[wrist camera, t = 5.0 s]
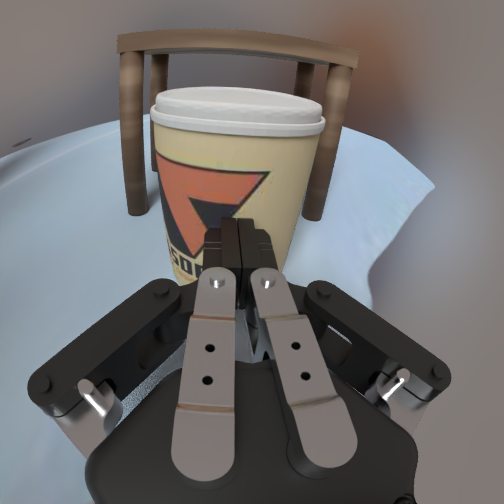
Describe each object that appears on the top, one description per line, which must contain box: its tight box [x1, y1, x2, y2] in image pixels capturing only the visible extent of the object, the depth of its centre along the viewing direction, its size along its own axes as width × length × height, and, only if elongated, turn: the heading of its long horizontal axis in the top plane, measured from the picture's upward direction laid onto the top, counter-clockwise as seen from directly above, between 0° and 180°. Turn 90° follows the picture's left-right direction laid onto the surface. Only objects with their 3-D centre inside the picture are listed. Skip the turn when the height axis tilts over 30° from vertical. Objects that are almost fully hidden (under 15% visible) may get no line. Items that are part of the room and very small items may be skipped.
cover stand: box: [117, 29, 359, 221], centre depth 26 cm, size 13×19×17 cm
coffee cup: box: [150, 87, 325, 306], centre depth 17 cm, size 9×9×12 cm
